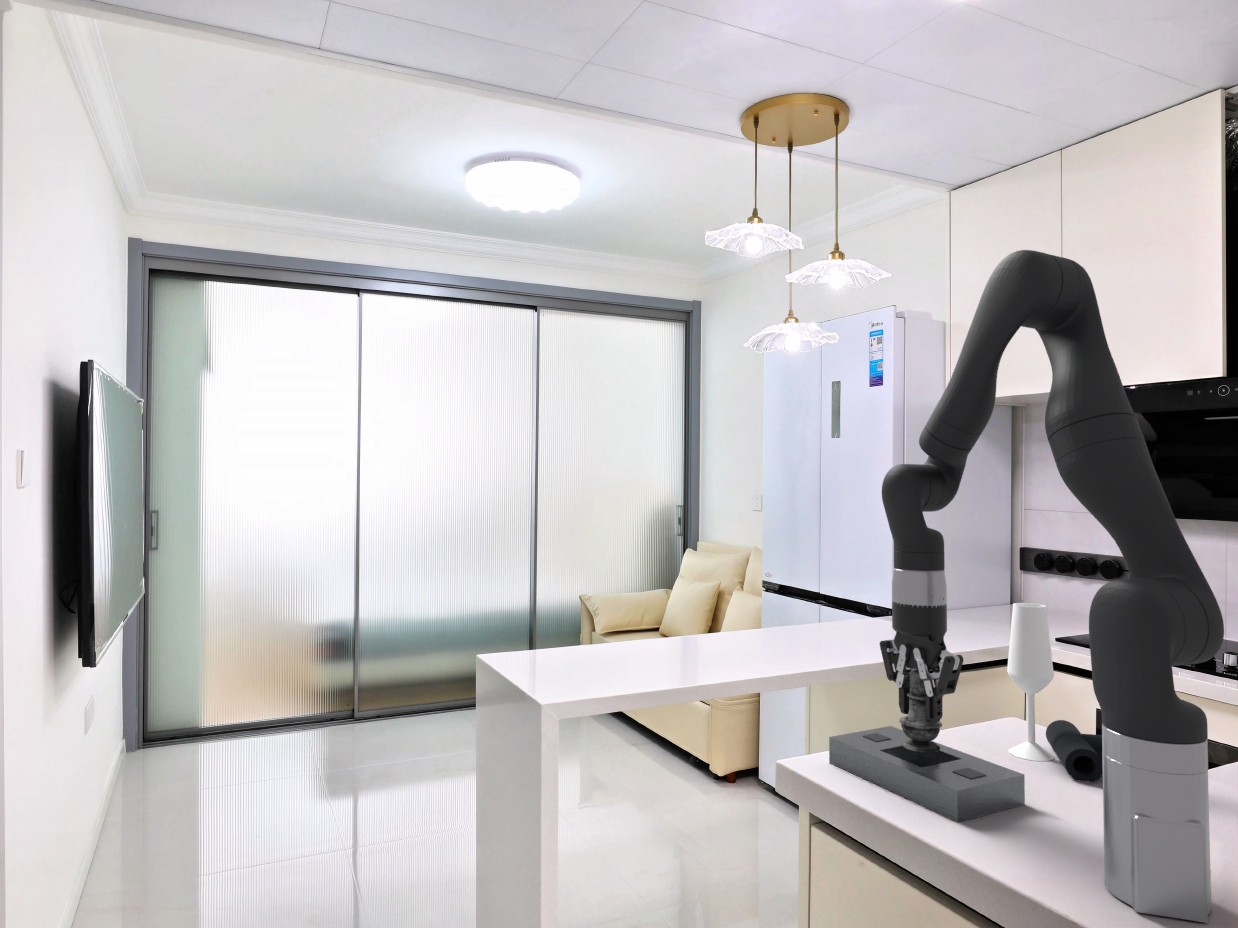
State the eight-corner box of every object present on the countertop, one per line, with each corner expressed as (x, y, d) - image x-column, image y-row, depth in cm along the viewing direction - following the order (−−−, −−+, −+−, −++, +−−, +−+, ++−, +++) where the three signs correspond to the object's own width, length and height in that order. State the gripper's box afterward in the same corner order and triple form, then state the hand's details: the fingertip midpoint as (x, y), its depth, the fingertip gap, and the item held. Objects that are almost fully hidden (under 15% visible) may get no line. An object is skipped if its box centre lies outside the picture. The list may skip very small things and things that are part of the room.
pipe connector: (1125, 723, 125) (1155, 753, 111) (1126, 756, 125) (1156, 790, 111) (1045, 717, 129) (1064, 745, 115) (1046, 750, 129) (1065, 782, 114)
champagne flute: (1006, 744, 130) (1004, 600, 130) (1051, 749, 127) (1049, 603, 128) (1010, 757, 123) (1008, 606, 124) (1058, 763, 121) (1055, 609, 122)
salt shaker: (920, 755, 109) (920, 669, 110) (890, 742, 115) (889, 661, 115) (951, 749, 112) (950, 666, 112) (920, 737, 117) (919, 657, 117)
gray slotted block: (1024, 804, 105) (1024, 773, 105) (957, 822, 99) (957, 789, 100) (891, 750, 127) (890, 725, 127) (829, 762, 121) (829, 736, 121)
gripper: (978, 604, 109) (979, 727, 109) (900, 592, 122) (901, 702, 121) (940, 608, 106) (941, 734, 105) (864, 595, 119) (865, 707, 118)
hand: (920, 716), depth 113 cm, fingers closed on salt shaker, 4 cm apart
